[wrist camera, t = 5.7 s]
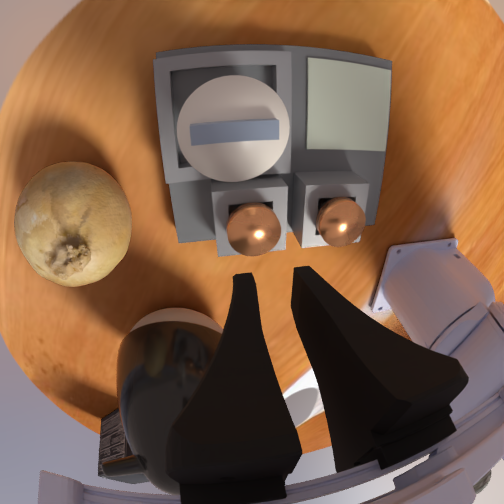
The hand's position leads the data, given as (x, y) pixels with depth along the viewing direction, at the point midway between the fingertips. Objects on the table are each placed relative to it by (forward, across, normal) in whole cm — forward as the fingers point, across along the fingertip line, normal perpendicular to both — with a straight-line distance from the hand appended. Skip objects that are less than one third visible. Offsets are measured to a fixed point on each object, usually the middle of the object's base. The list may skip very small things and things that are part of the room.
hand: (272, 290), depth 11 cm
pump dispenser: (+10, +6, +12) cm, 17 cm away
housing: (+9, -2, -4) cm, 10 cm away
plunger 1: (+7, 0, 0) cm, 7 cm away
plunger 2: (+7, -5, 0) cm, 9 cm away
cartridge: (+8, +1, -6) cm, 10 cm away
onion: (+10, +11, -1) cm, 15 cm away
